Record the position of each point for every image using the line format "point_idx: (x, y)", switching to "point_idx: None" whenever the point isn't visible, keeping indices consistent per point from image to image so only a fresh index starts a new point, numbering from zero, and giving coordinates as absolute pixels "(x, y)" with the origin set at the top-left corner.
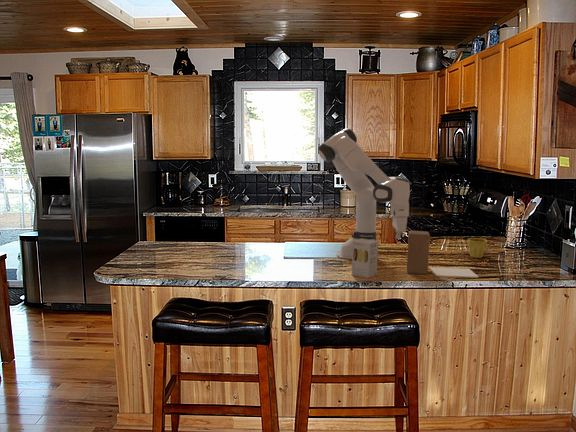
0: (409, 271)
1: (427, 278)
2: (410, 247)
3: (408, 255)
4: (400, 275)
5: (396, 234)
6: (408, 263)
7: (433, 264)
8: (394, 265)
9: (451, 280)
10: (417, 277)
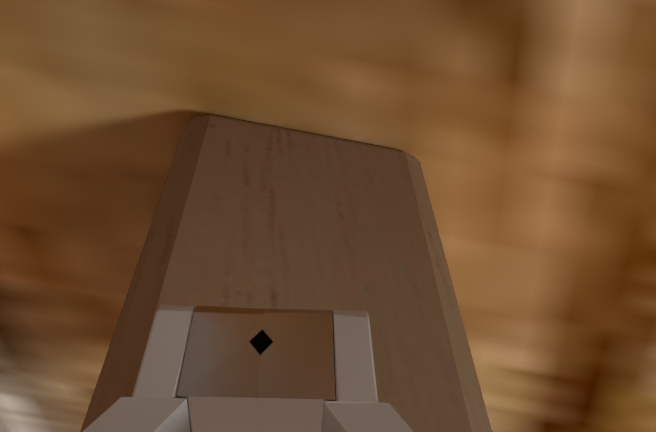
0: (179, 142)
1: (31, 255)
2: (98, 381)
3: (146, 252)
4: (72, 4)
5: (323, 407)
6: (169, 182)
7: (587, 391)
8: (624, 36)
9: (31, 397)
10: (38, 177)
